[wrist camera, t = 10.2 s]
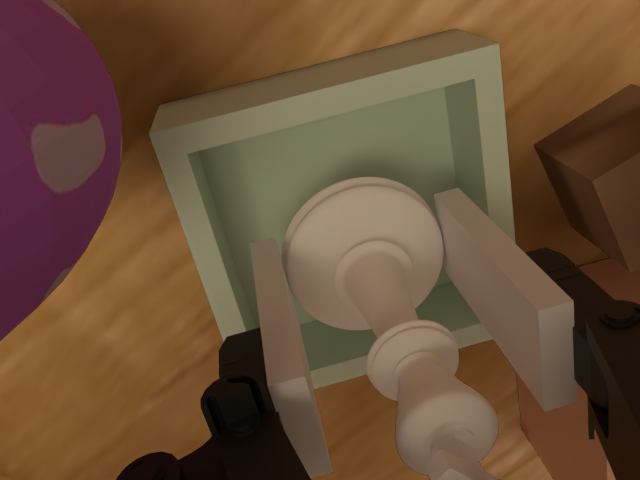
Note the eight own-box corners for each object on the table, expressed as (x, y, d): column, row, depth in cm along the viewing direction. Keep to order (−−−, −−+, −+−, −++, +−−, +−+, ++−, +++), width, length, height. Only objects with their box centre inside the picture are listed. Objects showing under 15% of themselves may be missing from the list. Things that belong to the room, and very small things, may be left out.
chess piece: (372, 344, 20) (492, 653, 11) (249, 273, 19) (277, 572, 10) (471, 231, 19) (693, 480, 10) (349, 143, 17) (489, 349, 8)
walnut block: (569, 225, 24) (630, 273, 21) (532, 144, 23) (592, 181, 19) (660, 170, 24) (738, 209, 20) (630, 83, 22) (709, 109, 19)
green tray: (242, 348, 24) (247, 408, 21) (159, 104, 20) (148, 134, 17) (483, 282, 25) (522, 330, 22) (455, 28, 20) (499, 43, 17)
